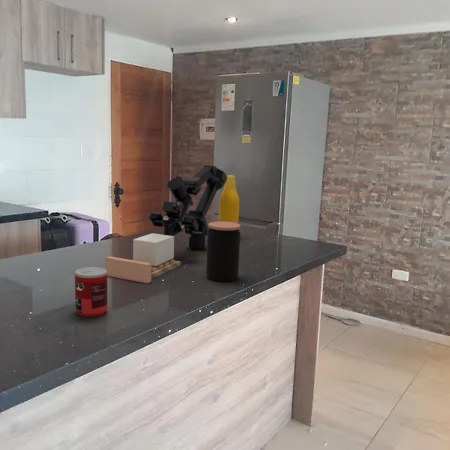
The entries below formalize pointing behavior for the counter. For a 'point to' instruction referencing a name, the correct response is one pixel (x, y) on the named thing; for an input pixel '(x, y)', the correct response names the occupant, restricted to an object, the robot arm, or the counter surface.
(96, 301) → the canned food
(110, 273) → the brick stop
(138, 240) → the white box on pallet
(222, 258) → the coffee jar
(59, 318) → the counter surface
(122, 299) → the counter surface
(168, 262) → the roller bed
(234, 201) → the beer bottle
